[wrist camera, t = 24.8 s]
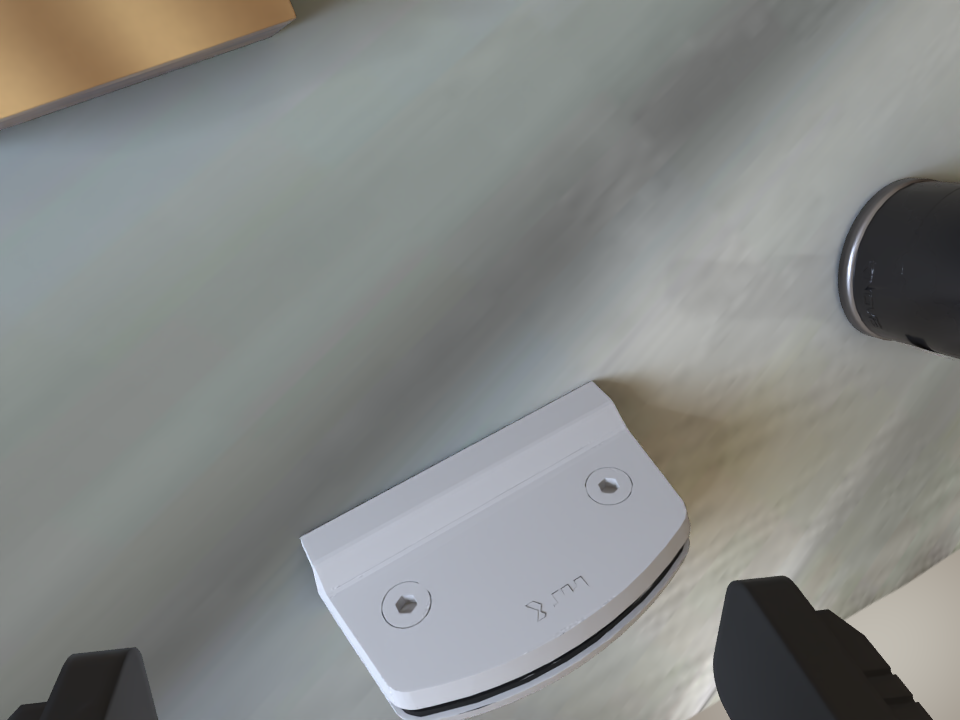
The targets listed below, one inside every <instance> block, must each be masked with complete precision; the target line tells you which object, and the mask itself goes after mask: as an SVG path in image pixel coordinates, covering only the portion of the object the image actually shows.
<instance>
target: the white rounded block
mask: <svg viewBox="0 0 960 720" xmlns="http://www.w3.org/2000/svg"><path fill="white" fill-rule="evenodd" d="M689 534H690V521H689V518H688V514H687V511H686V507H685V504H684V502H683V500H682V499H681V498H680V496H679V495H678V494H677V493H676V491H675V490H674V489H673V487H672V486H671V485H670V483H669V482H668V481H667V479H666V478H665V477H664V476H663V474H662V473H661V472H660V470H659V469H658V468H657V466H656V465H655V464H654V462H653V461H652V460H651V459H650V457H649V456H648V455H647V453H646V452H645V451H644V449H643V448H642V447H641V446H640V444H639V443H638V442H637V440H636V439H635V438H634V436H633V435H632V434H631V432H630V431H629V430H628V429H627V427H626V425H625V424H624V422H623V420H622V418H621V416H620V414H619V412H618V410H617V408H616V407H615V405H614V403H613V402H612V400H611V399H610V398H609V397H608V396H607V395H606V394H605V393H604V392H603V391H602V390H601V389H600V388H599V387H598V386H597V385H596V384H595V383H594V382H593V381H591V382H589V383H587V384H585V385H583V386H582V387H580V388H578V389H576V390H574V391H572V392H570V393H569V394H567V395H565V396H563V397H561V398H559V399H557V400H555V401H554V402H552V403H550V404H548V405H546V406H544V407H542V408H541V409H539V410H537V411H535V412H533V413H531V414H529V415H528V416H526V417H524V418H522V419H520V420H518V421H516V422H514V423H513V424H511V425H509V426H507V427H505V428H503V429H501V430H500V431H498V432H496V433H494V434H492V435H490V436H488V437H486V438H485V439H483V440H481V441H479V442H477V443H475V444H473V445H472V446H470V447H468V448H466V449H464V450H462V451H460V452H458V453H457V454H455V455H453V456H451V457H449V458H447V459H445V460H444V461H442V462H440V463H438V464H436V465H434V466H432V467H431V468H429V469H427V470H425V471H423V472H421V473H419V474H417V475H416V476H414V477H412V478H410V479H408V480H406V481H404V482H403V483H401V484H399V485H397V486H395V487H393V488H391V489H389V490H388V491H386V492H384V493H382V494H380V495H378V496H376V497H375V498H373V499H371V500H369V501H367V502H365V503H363V504H361V505H360V506H358V507H356V508H354V509H352V510H350V511H348V512H347V513H345V514H343V515H341V516H339V517H337V518H335V519H334V520H332V521H330V522H328V523H326V524H324V525H322V526H320V527H319V528H317V529H315V530H313V531H311V532H309V533H307V534H306V535H304V536H302V537H300V538H301V543H302V546H303V548H304V550H305V552H306V555H307V557H308V559H309V562H310V564H311V566H312V568H313V572H314V577H315V581H316V586H317V590H318V594H319V595H320V597H321V598H322V600H323V601H324V603H325V604H326V606H327V608H328V610H329V611H330V613H331V615H332V616H333V618H334V619H335V621H336V622H337V624H338V625H339V627H340V628H341V630H342V631H343V633H344V634H345V636H346V637H347V639H348V640H349V642H350V643H351V645H352V647H353V648H354V650H355V651H356V653H357V654H358V656H359V657H360V659H361V660H362V662H363V663H364V665H365V666H366V668H367V669H368V671H369V672H370V674H371V676H372V677H373V679H374V680H375V682H376V683H377V685H378V686H379V688H380V689H381V691H382V692H383V694H384V695H385V697H386V698H387V700H388V701H389V703H390V705H391V706H392V708H393V709H394V711H395V712H396V714H397V715H399V716H400V717H401V718H402V719H404V720H463V719H466V718H469V717H473V716H476V715H479V714H483V713H486V712H489V711H491V710H494V709H497V708H499V707H502V706H505V705H508V704H510V703H512V702H515V701H517V700H519V699H521V698H523V697H526V696H528V695H530V694H532V693H534V692H537V691H538V690H540V689H542V688H544V687H546V686H548V685H550V684H552V683H554V682H555V681H557V680H559V679H561V678H562V677H564V676H566V675H567V674H569V673H571V672H572V671H574V670H575V669H577V668H579V667H580V666H581V665H583V664H584V663H586V662H587V661H589V660H590V659H591V658H593V657H594V656H596V655H597V654H599V653H600V652H601V651H603V650H604V649H605V648H606V647H607V646H609V645H610V644H611V643H612V642H614V641H615V640H616V639H617V638H618V637H620V636H621V635H622V634H623V633H624V632H625V631H626V630H627V629H628V628H629V627H630V626H632V625H633V624H634V623H635V622H636V621H637V620H638V619H639V618H640V617H641V615H642V614H643V613H644V612H645V611H646V610H647V609H648V608H649V607H650V606H651V605H652V604H653V603H654V601H655V600H656V599H657V598H658V596H659V595H660V594H661V593H662V591H663V590H664V589H665V588H666V586H667V585H668V584H669V583H670V581H671V580H672V578H673V577H674V575H675V574H676V572H677V571H678V569H679V568H680V566H681V565H682V563H683V561H684V559H685V557H686V555H687V553H688V551H689V546H690V541H689V538H688V537H689Z"/></svg>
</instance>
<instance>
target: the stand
mask: <svg viewBox="0 0 960 720" xmlns="http://www.w3.org/2000/svg"><path fill="white" fill-rule="evenodd" d="M294 19H296V14H295V11H294V9H293V6H292V4H291V1H290V0H0V130H3V129H6V128H9V127H12V126H15V125H18V124H21V123H23V122H26V121H29V120H32V119H35V118H38V117H41V116H44V115H47V114H49V113H52V112H55V111H58V110H61V109H64V108H67V107H70V106H73V105H75V104H78V103H81V102H84V101H87V100H90V99H93V98H96V97H99V96H101V95H104V94H107V93H110V92H113V91H116V90H119V89H122V88H125V87H127V86H130V85H133V84H136V83H139V82H142V81H145V80H148V79H151V78H154V77H156V76H159V75H162V74H165V73H168V72H171V71H174V70H177V69H180V68H182V67H185V66H188V65H191V64H194V63H197V62H200V61H203V60H206V59H208V58H211V57H214V56H217V55H220V54H223V53H226V52H229V51H232V50H234V49H237V48H240V47H243V46H246V45H249V44H252V43H255V42H258V41H260V40H263V39H266V38H269V37H272V36H273V35H274V34H276V33H277V32H278V31H280V30H281V29H282V28H284V27H285V26H286V25H288V24H289V23H290V22H292V21H293V20H294Z"/></svg>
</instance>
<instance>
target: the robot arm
mask: <svg viewBox="0 0 960 720" xmlns="http://www.w3.org/2000/svg"><path fill="white" fill-rule="evenodd" d="M838 288H839V296H840V301H841V305H842V308H843V310H844V313H845V315H846V317H847V318H848V320H849V321H850V323H851V324H852V325H853V326H854V327H855V328H856V329H857V330H859V331H860V332H862V333H864V334H866V335H869V336H872V337H876V338H880V339H883V340H890V341H891V340H894V341H898V342H901V343H902V344H903V343H905V345H906V344H908V346H910V345H912V346H911V347H914V346H915V347H914V348H917V347H919V348H917V349H920V348H923V349H926V350H929V351H932V352H936V353H940V354H943V355H947V356H951V357H954V358H958V359H960V183H953V182H939V181H936V180H932V179H918V178H907V179H902V180H899V181H896V182H893V183H891V184H889V185H888V186H886V187H884V188H883V189H881V190H880V191H879V192H878V193H876V194H875V195H874V196H873V197H872V198H871V199H870V200H869V201H868V202H867V204H866V205H865V206H864V207H863V209H862V210H861V211H860V213H859V214H858V216H857V217H856V219H855V221H854V223H853V225H852V226H851V228H850V231H849V233H848V235H847V238H846V240H845V243H844V246H843V250H842V254H841V258H840V264H839V273H838ZM923 349H920V350H923ZM926 350H923V351H926ZM929 351H926V352H929ZM932 352H929V353H932ZM932 354H934V355H938V354H935V353H932ZM938 356H941V355H938ZM941 357H944V356H941ZM945 358H947V357H945ZM949 359H950V358H949ZM952 360H953V359H952ZM713 671H714V678H715V683H716V687H717V691H718V694H719V697H720V699H721V702H722V704H723V706H724V708H725V710H726V711H727V714H728V716H729V717H730V719H731V720H933V719H932V718H931V717H930V715H928V713H927V712H926V711H925V709H924V708H923V707H922V706H921V704H920V703H919V702H915V701H914V700H913V695H912V693H911V692H910V691H909V690H908V689H907V687H906V686H905V685H904V684H903V682H902V681H901V680H900V679H899V677H898V676H897V675H896V674H895V675H893V674H892V673H891V668H890V666H889V665H888V664H887V663H886V661H885V660H884V659H883V658H882V656H881V655H880V654H879V653H878V652H877V650H876V649H875V648H874V647H873V645H872V644H871V643H870V642H869V641H868V639H867V638H866V637H865V636H864V635H863V634H862V633H860V632H859V631H857V630H856V629H855V628H853V627H852V626H851V625H849V624H848V623H846V622H845V621H844V620H842V619H841V618H840V617H838V616H837V615H836V614H834V613H833V612H831V611H830V610H829V609H827V610H818V611H815V609H814V608H813V607H812V605H811V604H810V603H809V602H808V600H807V599H806V598H805V596H804V595H803V594H802V592H801V591H800V590H799V588H798V587H797V586H796V585H795V584H794V582H793V581H792V580H790V579H789V578H788V577H786V576H774V577H765V578H756V579H746V580H737V581H732V582H731V583H730V584H729V586H728V588H727V591H726V595H725V601H724V606H723V611H722V616H721V621H720V626H719V631H718V636H717V642H716V647H715V652H714V658H713ZM8 720H158V717H157V713H156V709H155V705H154V701H153V698H152V694H151V690H150V686H149V682H148V678H147V674H146V670H145V666H144V662H143V659H142V655H141V653H140V651H139V650H138V649H137V648H136V647H133V648H124V649H115V650H105V651H96V652H87V653H78V654H73V655H71V656H70V657H69V658H68V659H67V660H66V662H65V663H64V665H63V667H62V669H61V672H60V674H59V676H58V678H57V681H56V683H55V685H54V688H53V690H52V692H51V694H50V697H49V699H48V701H47V702H42V703H33V704H25V705H21V706H20V707H19V708H18V709H17V710H16V711H15V712H14V713H13V714H12V715H11V716H10V717H9V719H8Z"/></svg>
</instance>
